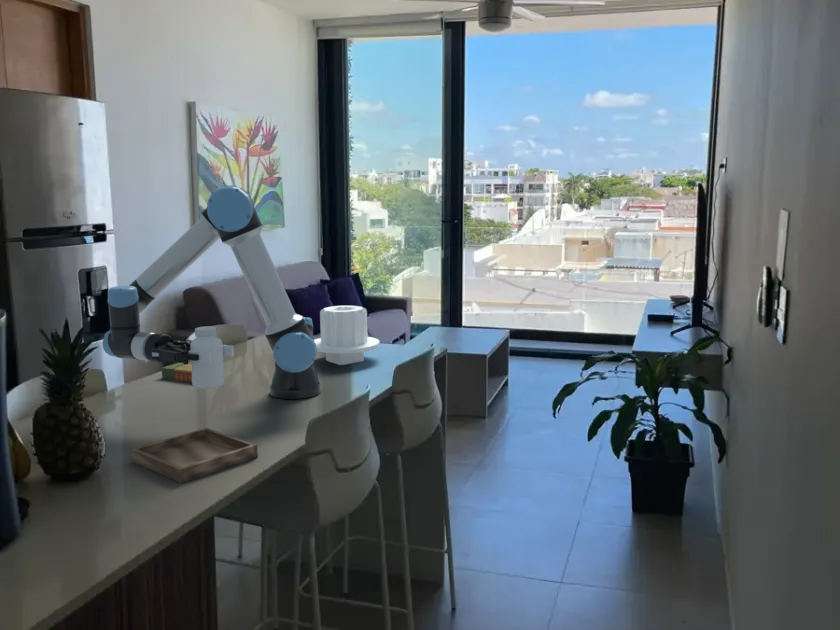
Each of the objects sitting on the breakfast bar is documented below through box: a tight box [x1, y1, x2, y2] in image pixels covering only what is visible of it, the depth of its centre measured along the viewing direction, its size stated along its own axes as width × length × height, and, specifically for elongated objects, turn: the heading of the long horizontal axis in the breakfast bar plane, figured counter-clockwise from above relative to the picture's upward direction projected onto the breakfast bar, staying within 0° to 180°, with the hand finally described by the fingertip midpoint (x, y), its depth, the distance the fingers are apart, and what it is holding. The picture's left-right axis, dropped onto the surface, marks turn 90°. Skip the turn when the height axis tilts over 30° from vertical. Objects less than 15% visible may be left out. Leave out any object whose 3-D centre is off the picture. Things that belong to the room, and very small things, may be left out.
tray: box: [130, 427, 259, 484], centre depth 174 cm, size 20×20×3 cm
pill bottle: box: [190, 325, 225, 390], centre depth 194 cm, size 8×8×15 cm
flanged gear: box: [314, 305, 381, 366], centre depth 270 cm, size 25×25×19 cm
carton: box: [161, 362, 192, 383], centre depth 249 cm, size 8×16×4 cm, turn 63°
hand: (221, 354), depth 192 cm, fingers closed on pill bottle, 8 cm apart
